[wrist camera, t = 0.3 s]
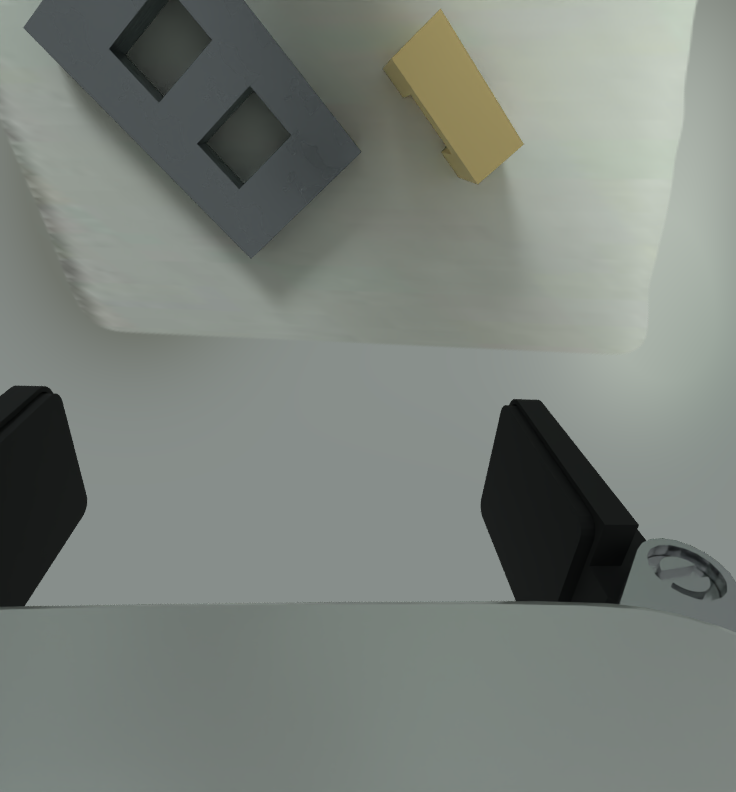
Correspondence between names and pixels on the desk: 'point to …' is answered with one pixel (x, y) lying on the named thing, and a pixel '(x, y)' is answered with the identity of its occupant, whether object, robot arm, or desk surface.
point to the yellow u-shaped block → (454, 100)
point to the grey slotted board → (203, 106)
